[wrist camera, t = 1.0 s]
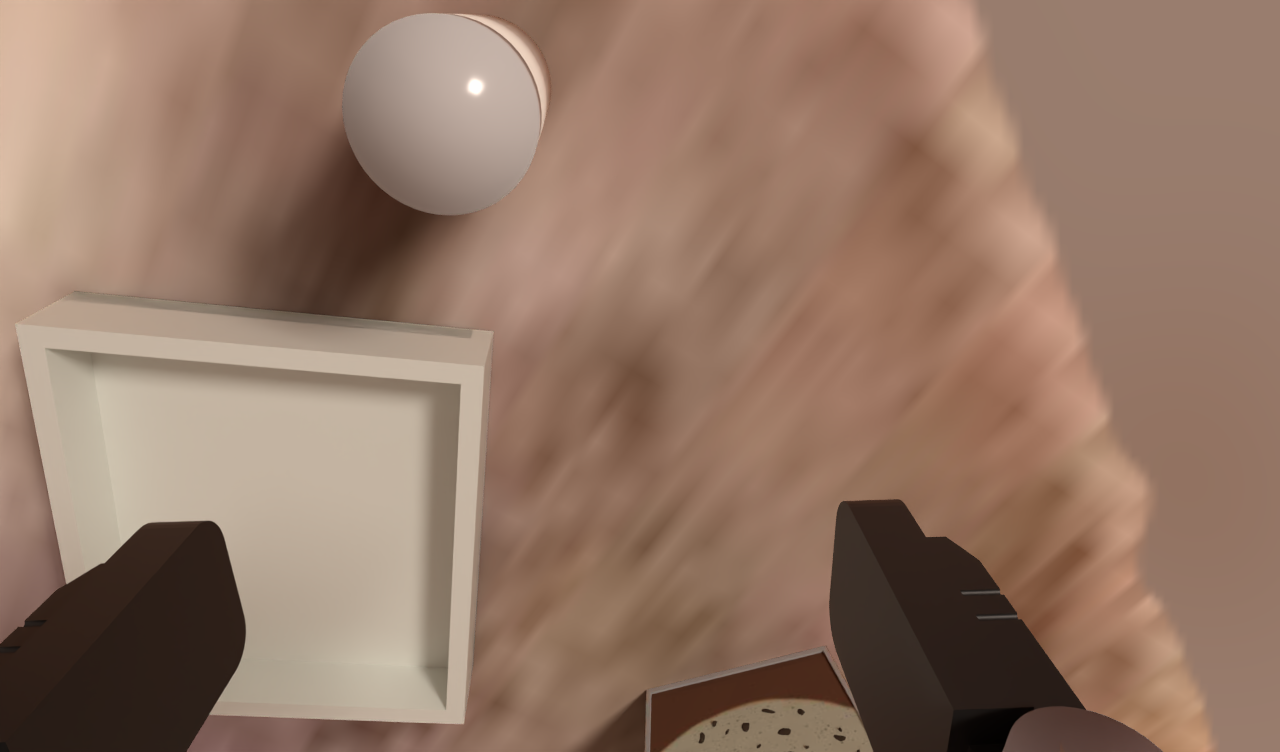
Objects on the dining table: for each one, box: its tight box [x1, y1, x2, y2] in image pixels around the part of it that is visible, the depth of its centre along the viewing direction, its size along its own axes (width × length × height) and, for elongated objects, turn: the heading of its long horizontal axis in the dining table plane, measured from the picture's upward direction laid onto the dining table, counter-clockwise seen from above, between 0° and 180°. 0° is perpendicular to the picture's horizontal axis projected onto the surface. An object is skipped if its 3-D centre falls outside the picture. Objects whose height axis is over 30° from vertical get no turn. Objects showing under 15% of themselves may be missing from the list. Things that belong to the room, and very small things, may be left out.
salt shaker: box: [342, 13, 551, 215], centre depth 23 cm, size 5×5×10 cm
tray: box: [15, 291, 494, 724], centre depth 33 cm, size 16×18×4 cm
